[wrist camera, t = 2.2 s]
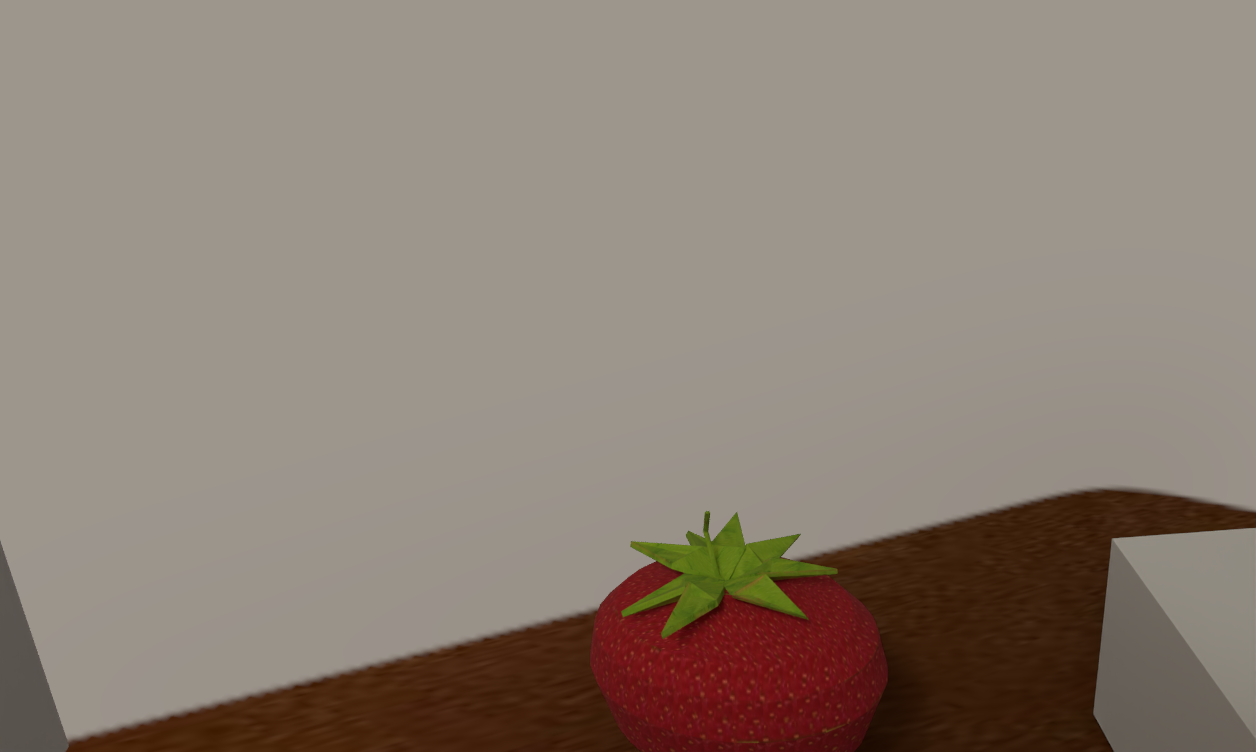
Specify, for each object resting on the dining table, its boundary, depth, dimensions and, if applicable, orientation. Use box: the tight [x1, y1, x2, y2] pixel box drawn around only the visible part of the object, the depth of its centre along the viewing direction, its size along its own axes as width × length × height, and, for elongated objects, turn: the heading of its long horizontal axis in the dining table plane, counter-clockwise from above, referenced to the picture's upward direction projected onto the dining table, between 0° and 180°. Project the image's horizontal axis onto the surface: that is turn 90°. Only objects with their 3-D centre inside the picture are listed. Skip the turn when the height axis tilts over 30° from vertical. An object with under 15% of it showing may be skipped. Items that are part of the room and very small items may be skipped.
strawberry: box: [590, 511, 888, 752], centre depth 30 cm, size 6×8×10 cm
